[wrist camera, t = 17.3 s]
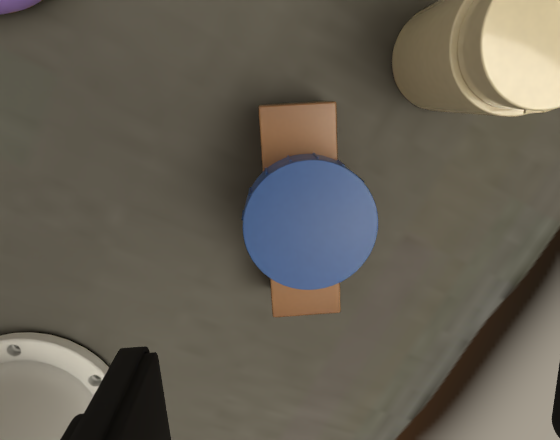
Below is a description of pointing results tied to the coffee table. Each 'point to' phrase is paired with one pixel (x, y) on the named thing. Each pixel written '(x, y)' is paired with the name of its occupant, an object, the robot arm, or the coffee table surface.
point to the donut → (16, 5)
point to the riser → (292, 141)
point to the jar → (481, 57)
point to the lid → (309, 222)
